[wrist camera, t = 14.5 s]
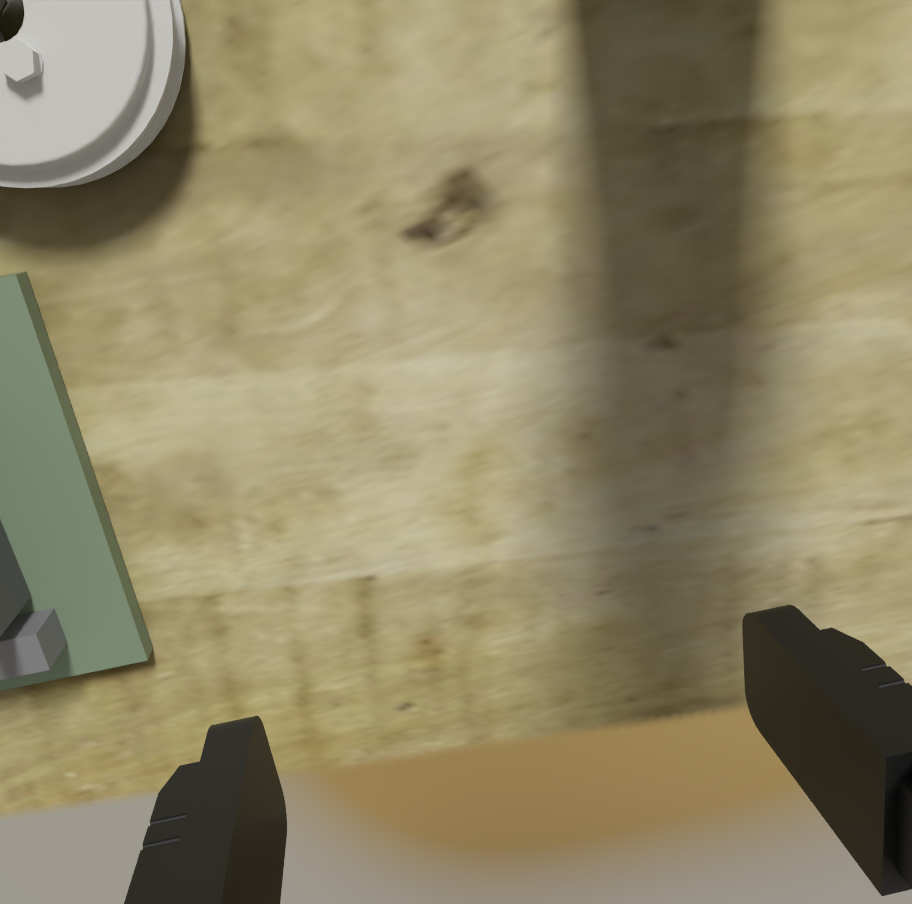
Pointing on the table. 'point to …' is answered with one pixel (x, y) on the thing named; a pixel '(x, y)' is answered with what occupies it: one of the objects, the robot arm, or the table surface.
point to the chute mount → (55, 518)
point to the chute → (10, 583)
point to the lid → (86, 87)
